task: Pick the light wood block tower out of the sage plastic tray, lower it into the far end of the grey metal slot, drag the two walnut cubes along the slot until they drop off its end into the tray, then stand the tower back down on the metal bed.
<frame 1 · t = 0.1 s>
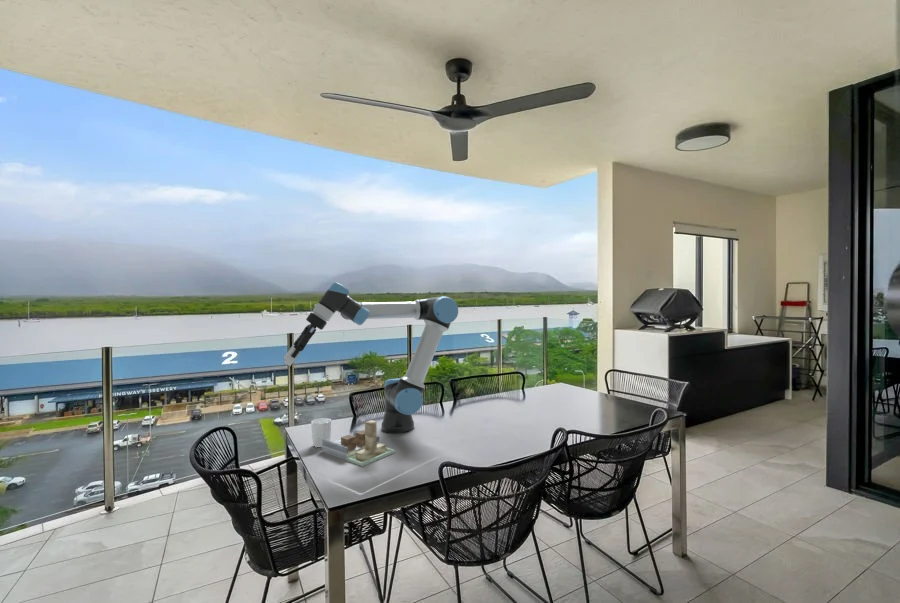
hand: (286, 362, 152), 36 cm above the table, tool tilted 35°, fingers open, 13 cm apart
tray: (371, 457, 148), on the table
bed: (351, 450, 155), on the table
white cup: (321, 445, 162), on the table
walnut cube 2: (362, 442, 156), point 3 cm above the table, touching bed
walnut cube 1: (348, 447, 151), point 3 cm above the table, touching bed
light wood block tower: (371, 456, 148), resting on tray
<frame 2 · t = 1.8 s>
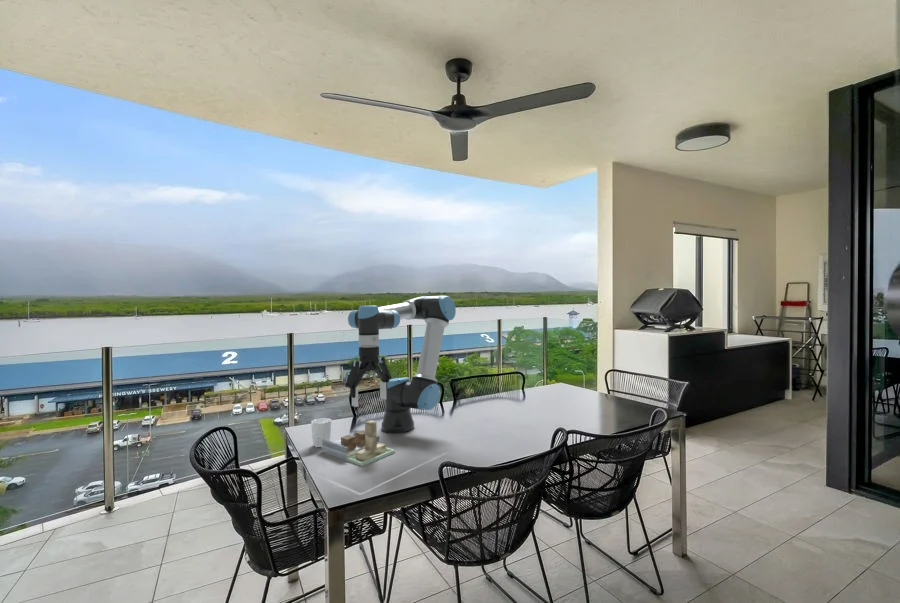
hand: (369, 402, 148), 21 cm above the table, tool pointing down, fingers open, 13 cm apart
nothing on the table moved.
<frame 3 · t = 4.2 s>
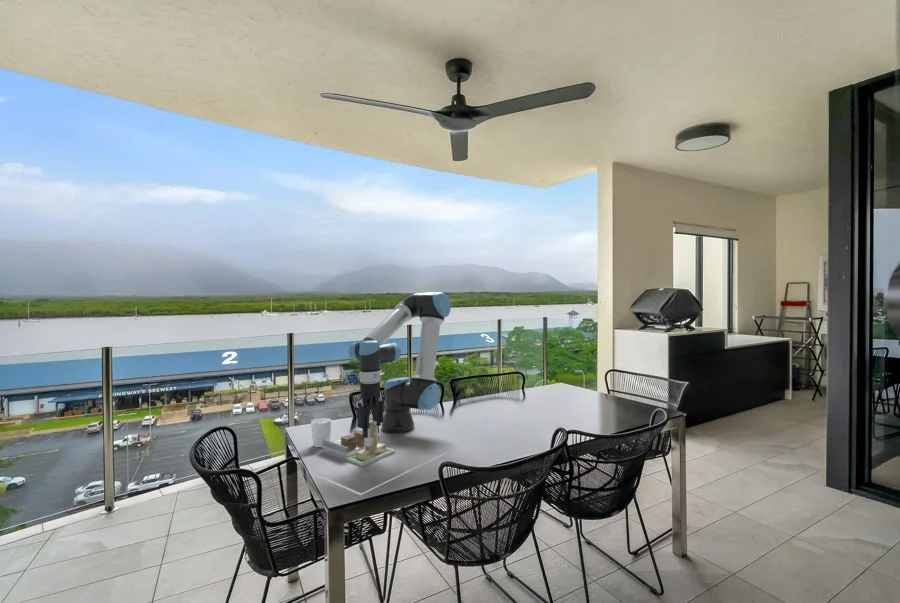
hand: (371, 444, 148), 5 cm above the table, tool pointing down, fingers closed on light wood block tower, 3 cm apart
light wood block tower: (371, 456, 148), point 1 cm above the table, touching gripper
everything else where it was.
when the fingers open (9 cm above the table, at t = 15.3 s): light wood block tower drops 1 cm, resting on bed.
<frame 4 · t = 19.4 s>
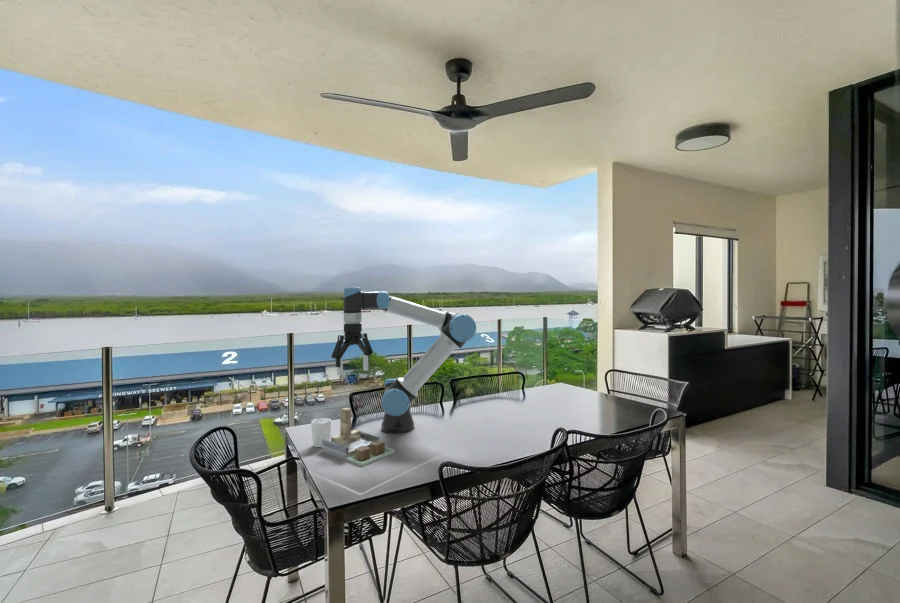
hand: (353, 372, 168), 29 cm above the table, tool pointing down, fingers open, 13 cm apart
walnut cube 2: (373, 447, 152), point 2 cm above the table, tilted 90°, touching tray
walnut cube 1: (359, 452, 146), point 2 cm above the table, tilted 90°, touching tray
light wood block tower: (346, 441, 157), point 3 cm above the table, touching bed
everything else where it was.
at the end: walnut cube 2 inside the target area on the tray (4.1 cm from its centre), point 2.5 cm above the tray's base; walnut cube 1 inside the target area on the tray (4.4 cm from its centre), point 2.5 cm above the tray's base; light wood block tower inside the target area (3.0 cm from its centre), point 3.0 cm above the table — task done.
